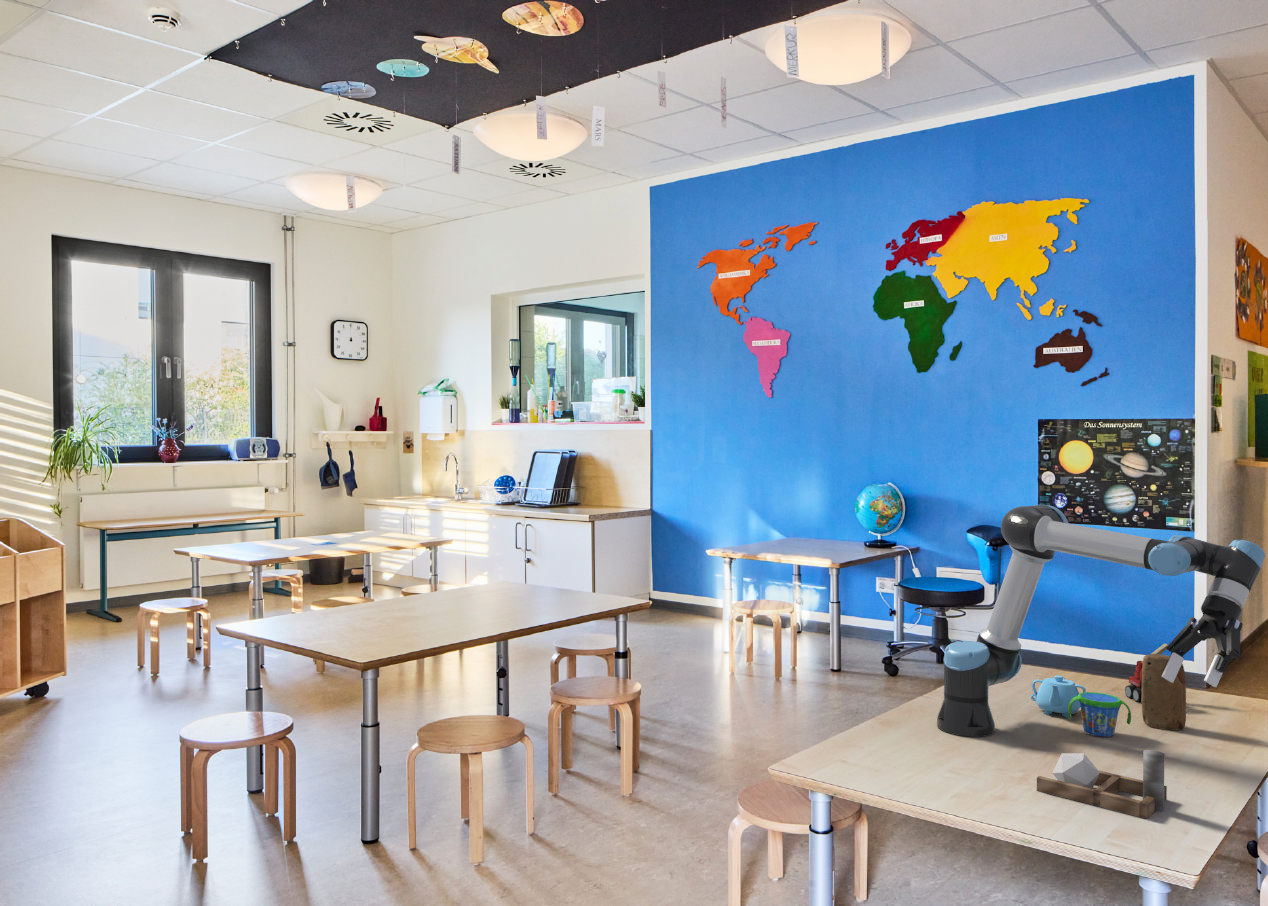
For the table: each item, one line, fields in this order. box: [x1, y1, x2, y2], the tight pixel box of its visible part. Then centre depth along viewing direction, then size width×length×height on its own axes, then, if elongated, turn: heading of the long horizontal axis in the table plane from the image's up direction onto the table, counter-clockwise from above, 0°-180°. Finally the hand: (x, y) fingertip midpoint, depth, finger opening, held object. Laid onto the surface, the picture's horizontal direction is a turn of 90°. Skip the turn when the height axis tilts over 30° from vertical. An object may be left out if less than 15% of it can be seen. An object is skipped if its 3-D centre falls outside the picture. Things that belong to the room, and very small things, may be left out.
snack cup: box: [1068, 691, 1132, 738], centre depth 255 cm, size 16×10×10 cm
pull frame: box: [1036, 749, 1168, 820], centre depth 209 cm, size 24×15×12 cm, turn 46°
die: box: [1052, 752, 1100, 789], centre depth 213 cm, size 8×9×10 cm
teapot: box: [1030, 675, 1087, 719], centre depth 274 cm, size 13×14×11 cm
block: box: [1140, 653, 1187, 731], centre depth 262 cm, size 11×8×20 cm
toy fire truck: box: [1124, 643, 1169, 703], centre depth 287 cm, size 11×16×18 cm
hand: (1187, 681), depth 212 cm, fingers open, 13 cm apart
